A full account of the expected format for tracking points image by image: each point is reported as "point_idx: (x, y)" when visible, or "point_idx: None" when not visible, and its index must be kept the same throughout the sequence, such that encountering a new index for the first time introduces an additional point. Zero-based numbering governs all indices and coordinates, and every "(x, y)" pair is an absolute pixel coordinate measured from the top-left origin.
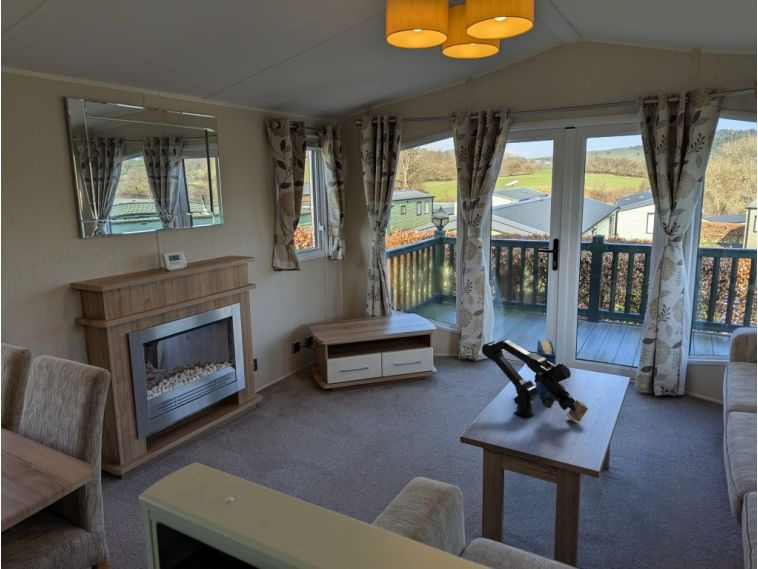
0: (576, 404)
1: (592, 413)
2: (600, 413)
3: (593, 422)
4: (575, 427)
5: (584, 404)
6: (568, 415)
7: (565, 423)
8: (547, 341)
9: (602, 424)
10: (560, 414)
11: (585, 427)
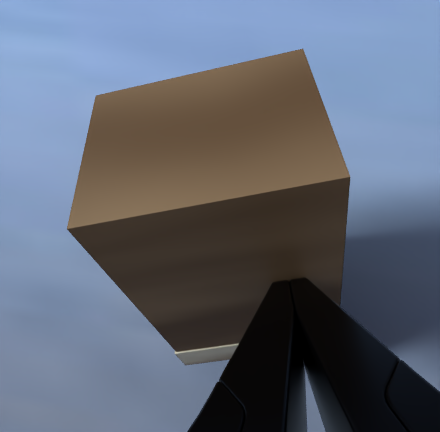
0: (204, 249)
1: (24, 71)
2: (15, 2)
3: None
4: (422, 285)
5: (120, 96)
6: None
7: None
8: None
9: (269, 3)
10: (89, 404)
11: (391, 174)
